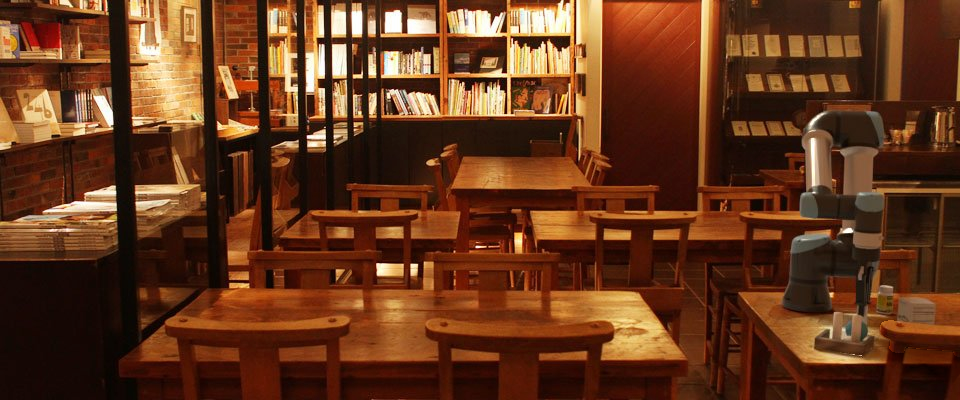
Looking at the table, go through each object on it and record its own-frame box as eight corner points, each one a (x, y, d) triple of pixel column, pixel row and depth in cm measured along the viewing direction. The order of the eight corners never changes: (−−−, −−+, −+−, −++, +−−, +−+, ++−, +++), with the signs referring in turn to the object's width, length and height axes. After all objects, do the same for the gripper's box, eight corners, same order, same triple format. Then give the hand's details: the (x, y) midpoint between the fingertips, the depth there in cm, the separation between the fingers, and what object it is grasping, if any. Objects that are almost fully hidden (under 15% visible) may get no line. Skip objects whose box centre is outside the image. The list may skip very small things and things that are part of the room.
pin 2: (849, 348, 283) (851, 316, 282) (851, 346, 285) (853, 314, 284) (858, 349, 282) (860, 317, 281) (860, 347, 284) (862, 315, 283)
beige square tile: (833, 338, 293) (833, 337, 293) (842, 331, 301) (842, 330, 301) (869, 344, 287) (869, 343, 287) (877, 336, 296) (878, 336, 296)
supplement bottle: (887, 315, 322) (889, 288, 321) (873, 312, 325) (875, 286, 324) (895, 313, 325) (897, 287, 324) (881, 310, 328) (883, 284, 327)
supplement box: (894, 340, 292) (897, 296, 290) (919, 340, 293) (923, 296, 291) (907, 347, 285) (911, 303, 283) (933, 347, 285) (936, 303, 284)
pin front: (844, 342, 288) (834, 349, 281) (846, 334, 288) (836, 341, 281) (852, 345, 287) (843, 352, 280) (855, 337, 287) (845, 344, 279)
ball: (848, 313, 291) (848, 325, 296) (842, 329, 288) (842, 341, 293) (870, 318, 288) (870, 330, 293) (864, 335, 285) (864, 347, 290)
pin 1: (830, 345, 286) (832, 313, 285) (833, 343, 288) (835, 311, 287) (839, 346, 285) (841, 314, 283) (841, 344, 287) (844, 312, 285)
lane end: (814, 348, 282) (814, 337, 282) (825, 339, 292) (826, 328, 292) (863, 356, 275) (864, 345, 275) (873, 346, 285) (874, 336, 285)
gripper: (875, 251, 288) (869, 333, 292) (885, 244, 299) (879, 324, 302) (847, 248, 292) (842, 329, 296) (858, 241, 303) (853, 320, 306)
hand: (861, 326), depth 299 cm, fingers closed
